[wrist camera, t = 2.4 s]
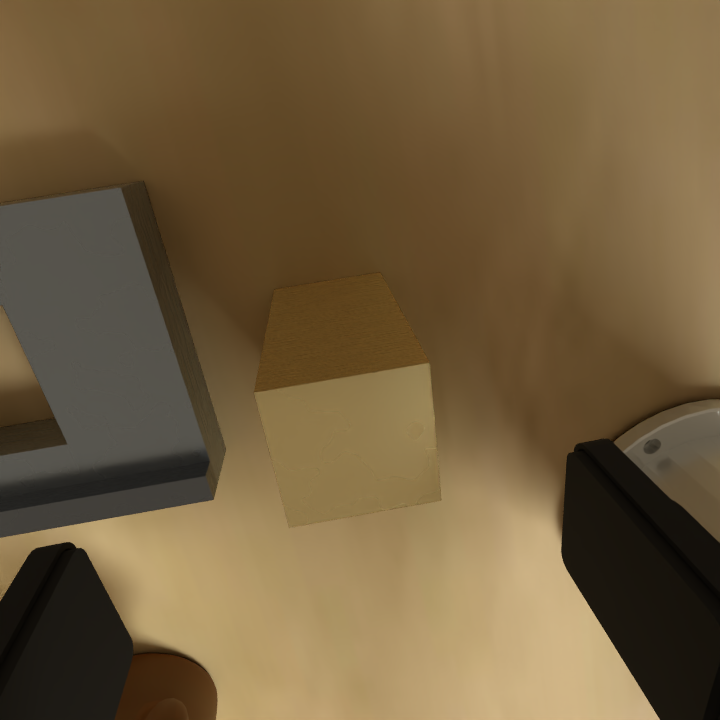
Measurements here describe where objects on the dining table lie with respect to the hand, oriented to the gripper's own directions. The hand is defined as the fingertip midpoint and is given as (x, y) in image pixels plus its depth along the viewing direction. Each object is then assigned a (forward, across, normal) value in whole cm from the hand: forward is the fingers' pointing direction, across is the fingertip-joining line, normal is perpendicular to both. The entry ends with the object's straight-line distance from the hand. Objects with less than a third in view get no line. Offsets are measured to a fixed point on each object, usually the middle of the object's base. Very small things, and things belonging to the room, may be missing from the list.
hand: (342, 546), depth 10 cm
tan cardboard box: (+13, -1, +1) cm, 13 cm away
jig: (+13, +13, 0) cm, 18 cm away
